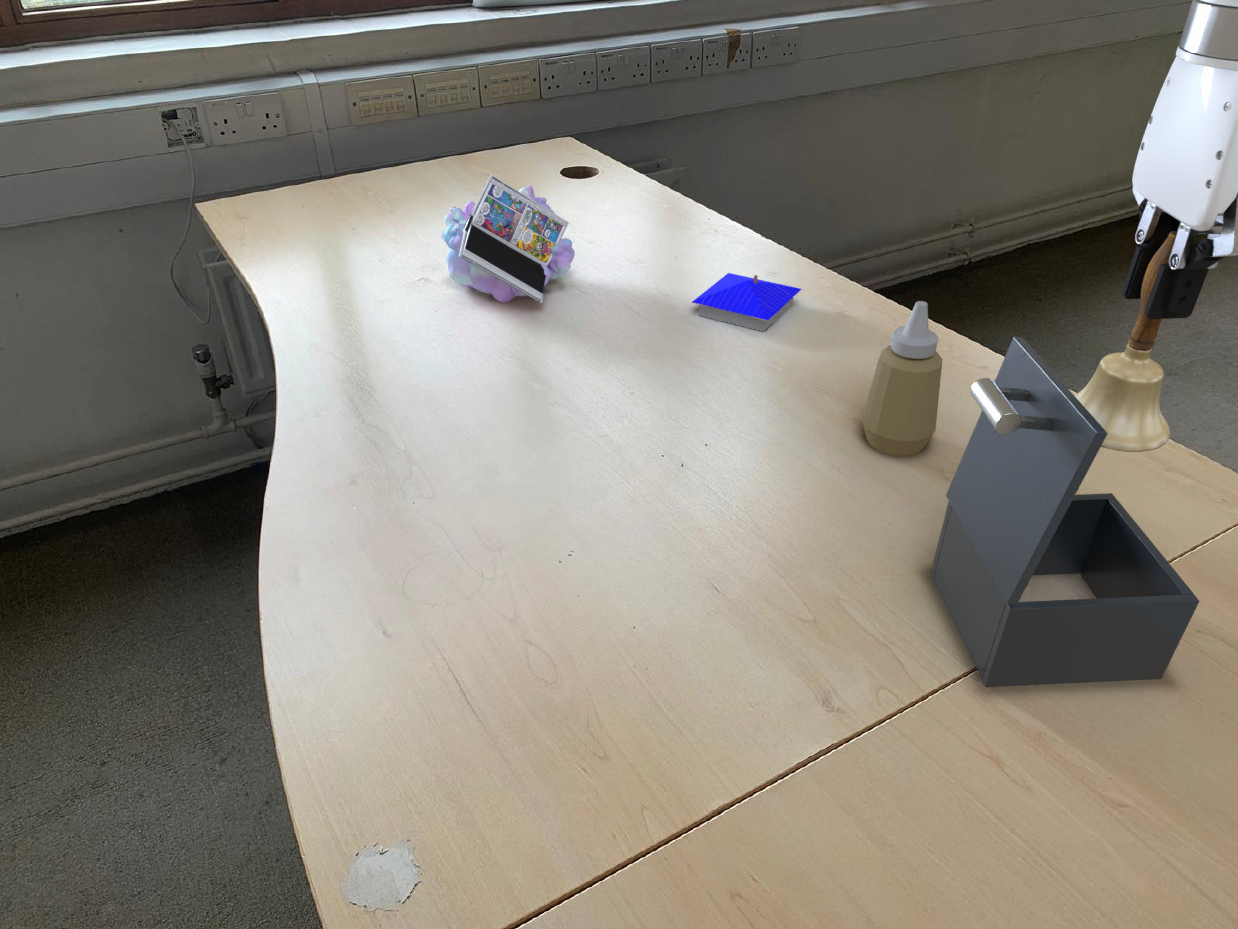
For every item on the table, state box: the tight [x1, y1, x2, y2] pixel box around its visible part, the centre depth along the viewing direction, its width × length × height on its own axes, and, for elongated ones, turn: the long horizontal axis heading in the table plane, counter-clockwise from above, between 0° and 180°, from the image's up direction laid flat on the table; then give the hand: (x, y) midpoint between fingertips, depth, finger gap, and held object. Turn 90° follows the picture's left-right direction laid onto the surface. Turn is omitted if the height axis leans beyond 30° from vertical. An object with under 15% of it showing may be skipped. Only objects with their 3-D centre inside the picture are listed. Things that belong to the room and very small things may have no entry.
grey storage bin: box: [930, 492, 1200, 688], centre depth 76 cm, size 15×14×10 cm
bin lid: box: [945, 336, 1108, 605], centre depth 68 cm, size 16×14×5 cm
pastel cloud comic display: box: [440, 173, 576, 304], centre depth 137 cm, size 20×22×18 cm
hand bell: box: [1073, 231, 1178, 453], centre depth 68 cm, size 8×8×16 cm
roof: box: [691, 272, 803, 332], centre depth 131 cm, size 12×12×5 cm
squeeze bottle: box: [861, 300, 943, 457], centre depth 98 cm, size 8×8×18 cm
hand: (1155, 304), depth 66 cm, fingers closed on hand bell, 2 cm apart
